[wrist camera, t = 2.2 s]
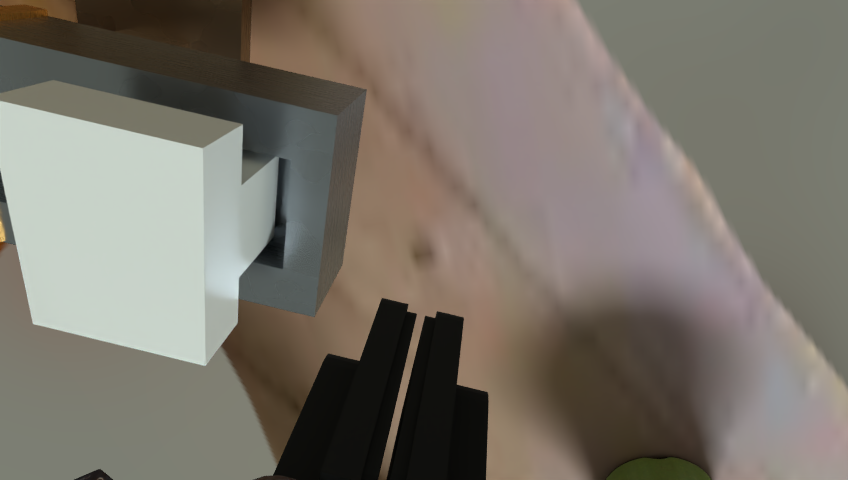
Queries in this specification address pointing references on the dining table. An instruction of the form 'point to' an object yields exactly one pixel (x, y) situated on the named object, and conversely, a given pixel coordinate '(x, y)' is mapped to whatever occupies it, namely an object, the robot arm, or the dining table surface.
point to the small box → (95, 476)
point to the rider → (132, 216)
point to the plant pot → (658, 470)
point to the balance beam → (212, 115)
